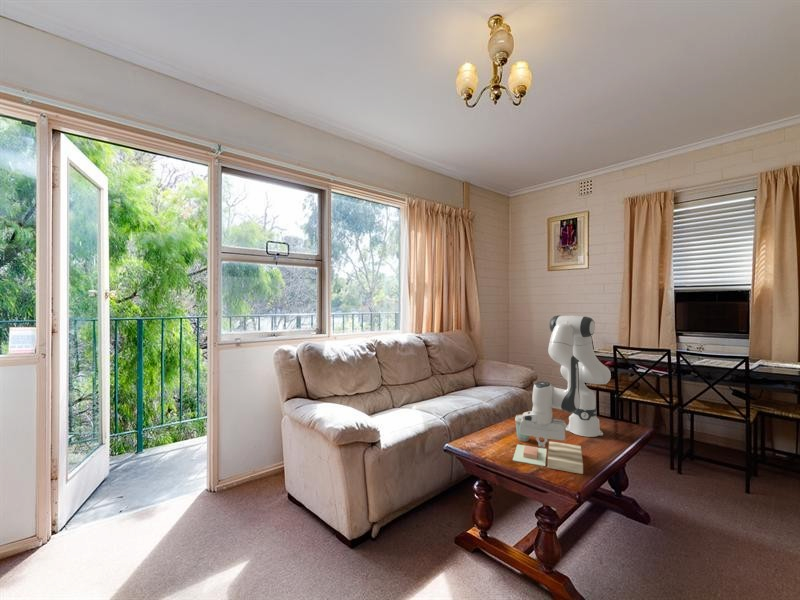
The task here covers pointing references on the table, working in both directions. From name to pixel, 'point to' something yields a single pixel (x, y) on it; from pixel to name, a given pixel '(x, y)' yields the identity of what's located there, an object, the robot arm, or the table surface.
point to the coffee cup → (519, 436)
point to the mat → (539, 461)
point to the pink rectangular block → (530, 452)
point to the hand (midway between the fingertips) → (541, 446)
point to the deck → (565, 457)
